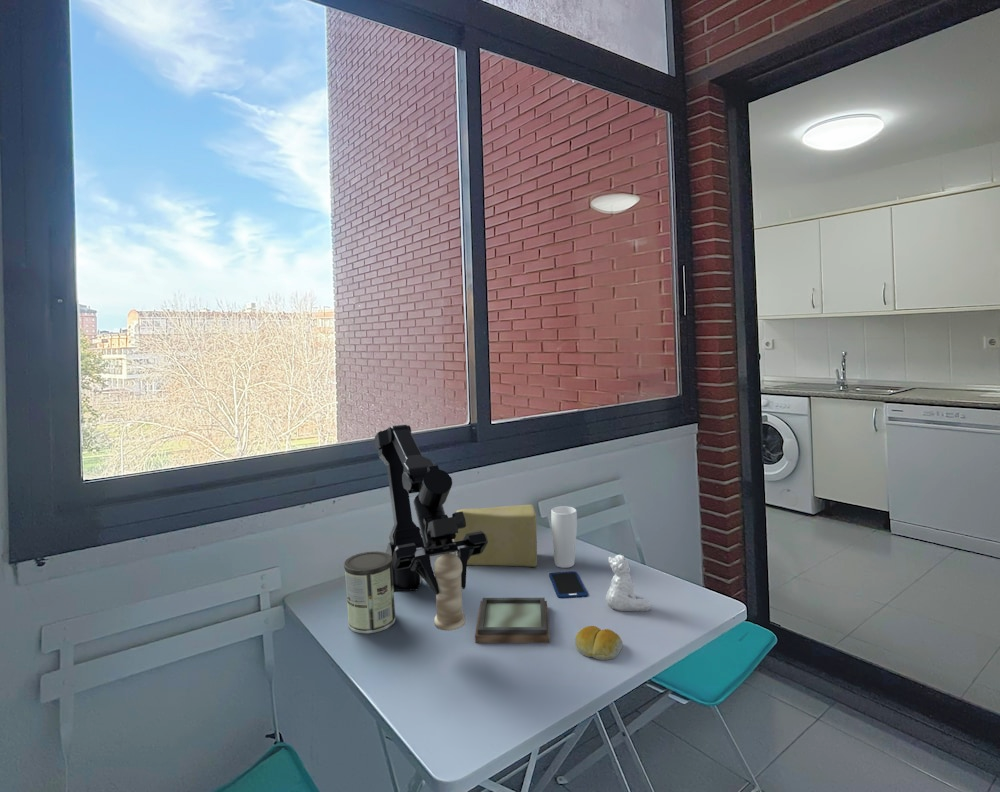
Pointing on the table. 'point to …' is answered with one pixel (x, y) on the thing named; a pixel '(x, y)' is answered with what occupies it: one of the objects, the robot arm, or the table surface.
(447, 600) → the beige round-topped cylinder
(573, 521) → the drinking glass
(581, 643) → the bread roll
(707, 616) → the table surface
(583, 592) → the cell phone
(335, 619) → the table surface
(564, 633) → the table surface
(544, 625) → the picture frame
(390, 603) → the coffee can
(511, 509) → the cheese
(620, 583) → the sitting furry creature
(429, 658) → the table surface
